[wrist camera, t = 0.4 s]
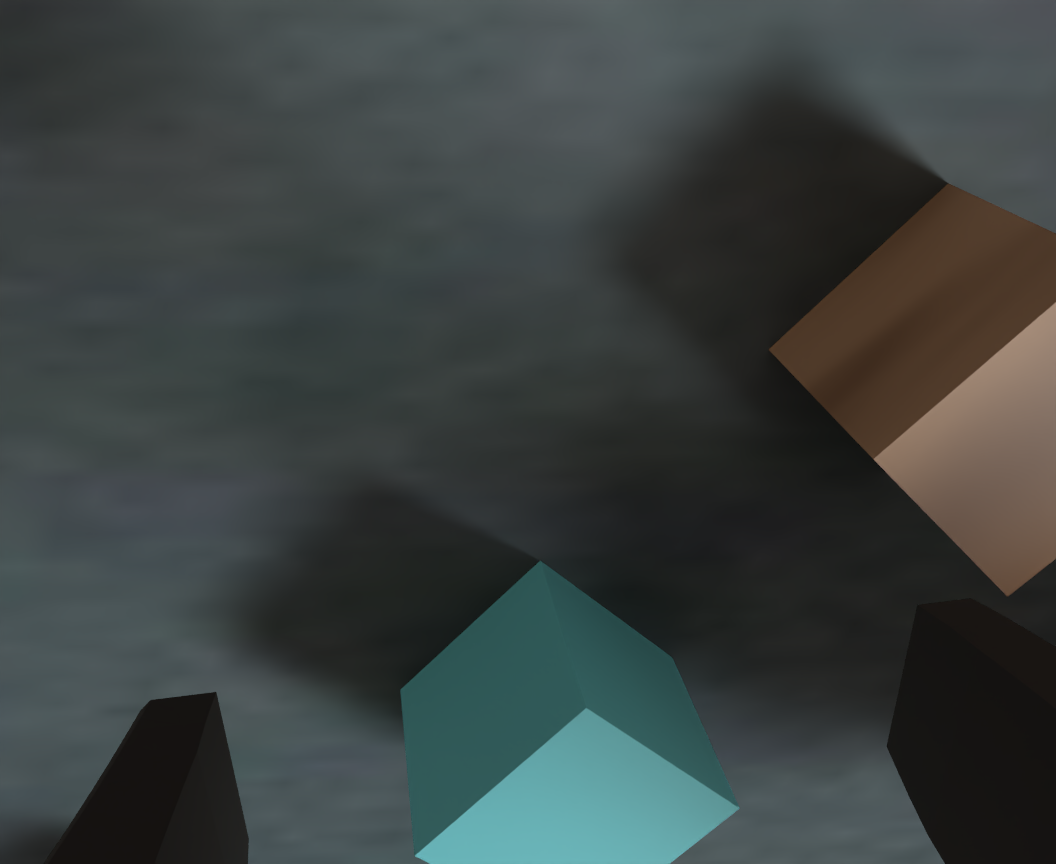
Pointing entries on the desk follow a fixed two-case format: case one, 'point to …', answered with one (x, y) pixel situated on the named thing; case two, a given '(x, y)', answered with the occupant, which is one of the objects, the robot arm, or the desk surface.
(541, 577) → the teal block
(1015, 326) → the walnut block
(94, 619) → the desk surface
